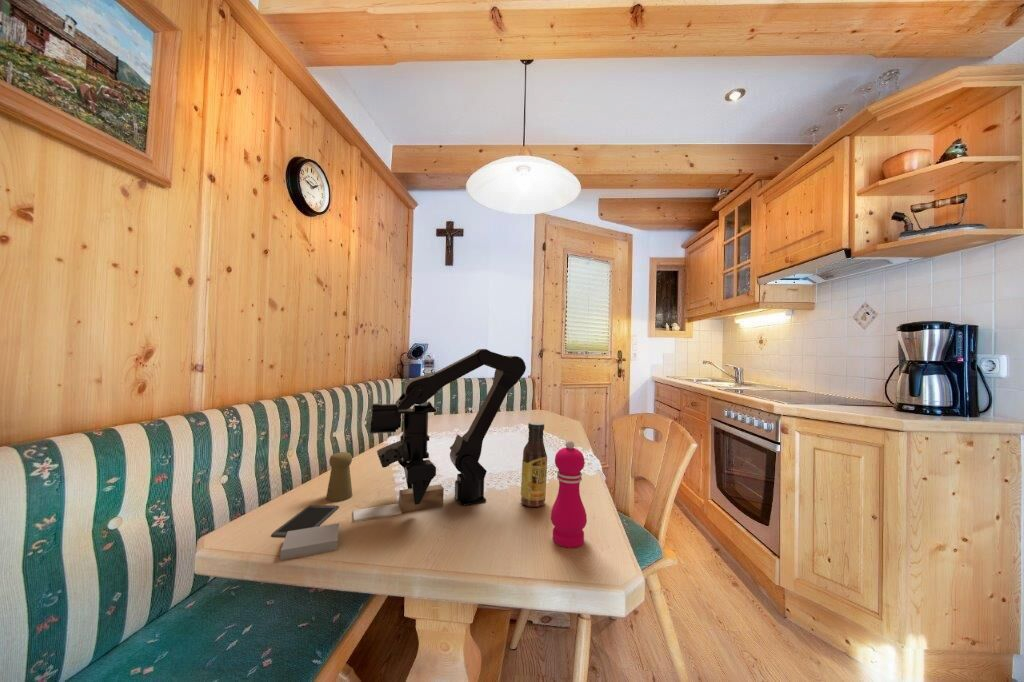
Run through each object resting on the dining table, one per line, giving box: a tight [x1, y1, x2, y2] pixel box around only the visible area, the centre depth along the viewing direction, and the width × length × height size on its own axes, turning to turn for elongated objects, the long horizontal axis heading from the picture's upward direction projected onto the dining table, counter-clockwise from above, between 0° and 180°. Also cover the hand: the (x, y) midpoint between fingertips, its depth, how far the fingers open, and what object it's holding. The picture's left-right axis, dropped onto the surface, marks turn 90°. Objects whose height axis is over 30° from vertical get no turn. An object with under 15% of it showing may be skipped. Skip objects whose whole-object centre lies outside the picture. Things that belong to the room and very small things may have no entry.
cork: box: [325, 451, 353, 503], centre depth 89 cm, size 6×6×11 cm
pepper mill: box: [550, 439, 588, 549], centre depth 72 cm, size 7×7×20 cm
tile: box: [280, 523, 340, 561], centre depth 67 cm, size 2×7×9 cm
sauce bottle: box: [520, 421, 548, 508], centre depth 89 cm, size 7×6×20 cm
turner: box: [352, 483, 445, 523], centre depth 83 cm, size 20×5×4 cm, turn 116°
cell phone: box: [271, 504, 340, 538], centre depth 77 cm, size 7×14×1 cm, turn 0°
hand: (413, 496), depth 84 cm, fingers open, 9 cm apart
